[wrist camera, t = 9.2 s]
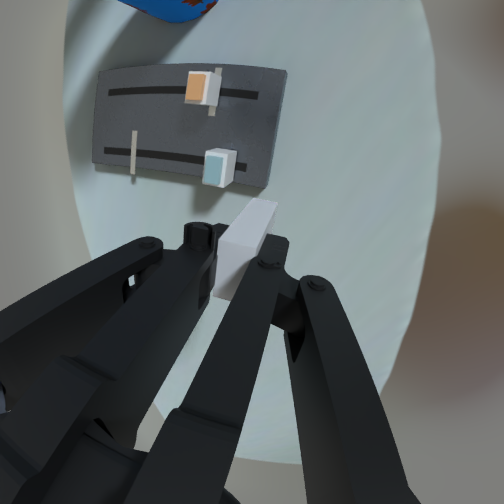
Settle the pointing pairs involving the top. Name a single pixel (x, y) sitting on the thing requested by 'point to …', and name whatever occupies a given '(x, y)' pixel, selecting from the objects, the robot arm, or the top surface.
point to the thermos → (172, 8)
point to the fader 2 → (219, 167)
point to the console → (188, 119)
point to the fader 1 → (203, 88)
